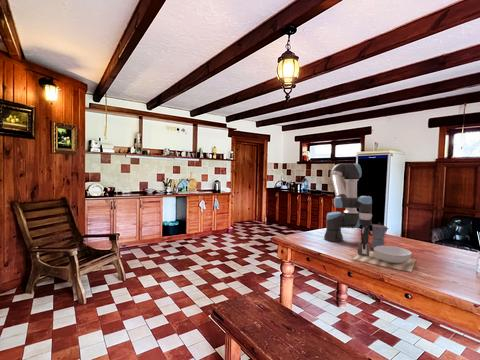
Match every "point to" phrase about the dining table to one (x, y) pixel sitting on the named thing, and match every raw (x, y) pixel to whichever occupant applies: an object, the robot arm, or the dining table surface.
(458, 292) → the dining table surface
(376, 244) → the moka pot
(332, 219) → the robot arm
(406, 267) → the serving board
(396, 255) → the serving bowl
